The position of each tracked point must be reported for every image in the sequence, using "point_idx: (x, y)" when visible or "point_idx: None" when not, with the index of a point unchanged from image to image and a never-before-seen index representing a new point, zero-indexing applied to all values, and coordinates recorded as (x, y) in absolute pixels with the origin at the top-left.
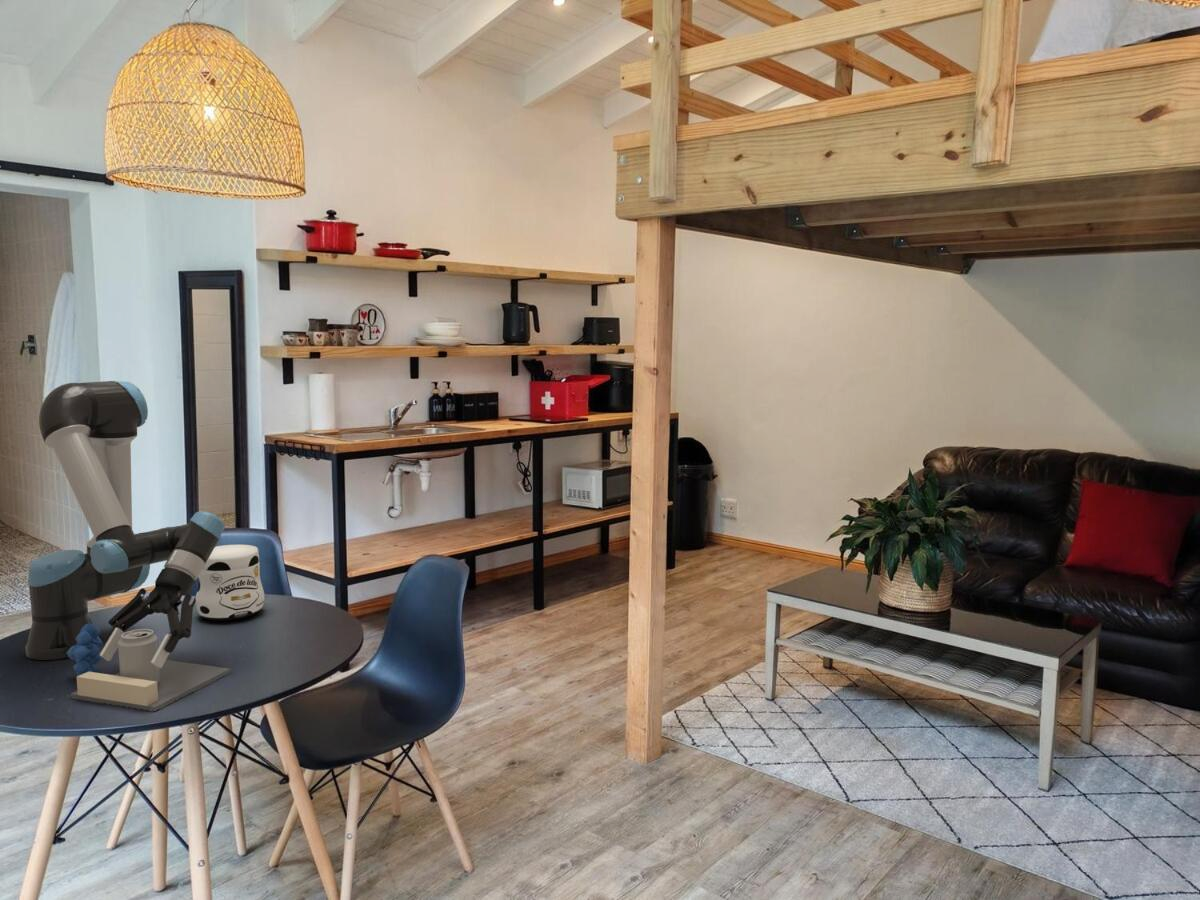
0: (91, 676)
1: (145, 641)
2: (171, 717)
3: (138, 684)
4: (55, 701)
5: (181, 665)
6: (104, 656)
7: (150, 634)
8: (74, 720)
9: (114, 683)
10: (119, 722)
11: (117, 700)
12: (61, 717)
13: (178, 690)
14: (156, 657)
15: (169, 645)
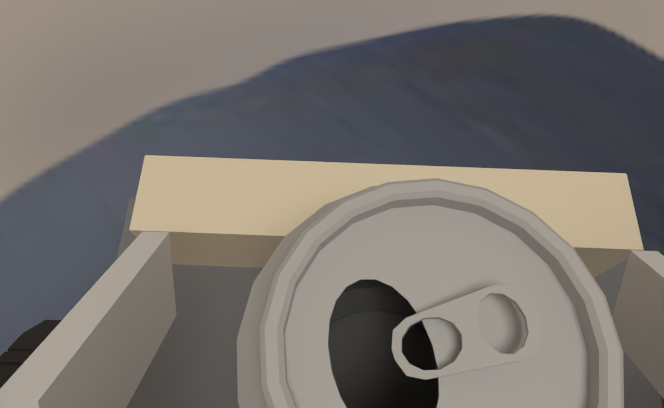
0: (552, 194)
1: (270, 286)
2: (34, 182)
3: (207, 172)
4: (637, 185)
5: None
6: (625, 272)
7: (264, 362)
8: (394, 76)
9: (358, 166)
10: (216, 101)
11: None
12: (463, 83)
13: (133, 400)
14: (127, 252)
15: (20, 346)
